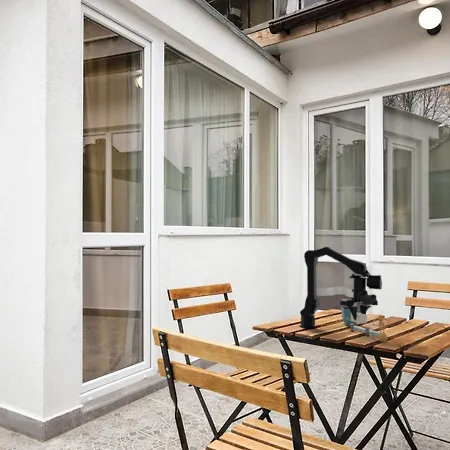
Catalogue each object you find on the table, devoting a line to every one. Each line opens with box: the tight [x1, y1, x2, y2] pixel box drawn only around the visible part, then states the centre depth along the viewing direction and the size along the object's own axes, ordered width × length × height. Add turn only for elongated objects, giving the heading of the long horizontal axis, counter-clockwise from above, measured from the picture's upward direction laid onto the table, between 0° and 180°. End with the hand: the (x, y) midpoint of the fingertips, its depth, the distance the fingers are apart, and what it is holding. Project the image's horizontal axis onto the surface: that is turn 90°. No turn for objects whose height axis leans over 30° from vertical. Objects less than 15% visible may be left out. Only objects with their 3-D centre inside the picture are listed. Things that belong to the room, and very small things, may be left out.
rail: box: [349, 324, 380, 338], centre depth 230 cm, size 6×20×3 cm, turn 23°
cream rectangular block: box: [351, 313, 368, 324], centre depth 229 cm, size 7×4×4 cm, turn 23°
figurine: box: [372, 314, 392, 343], centre depth 211 cm, size 8×6×12 cm
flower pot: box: [341, 306, 360, 326], centre depth 251 cm, size 9×9×9 cm
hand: (358, 319), depth 229 cm, fingers closed on cream rectangular block, 4 cm apart
